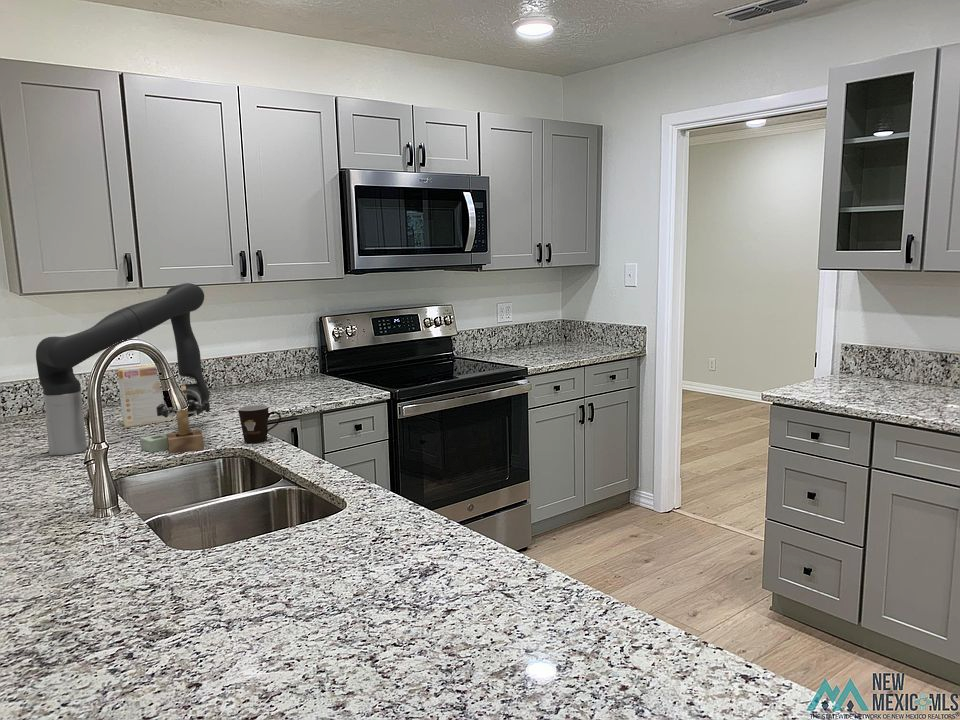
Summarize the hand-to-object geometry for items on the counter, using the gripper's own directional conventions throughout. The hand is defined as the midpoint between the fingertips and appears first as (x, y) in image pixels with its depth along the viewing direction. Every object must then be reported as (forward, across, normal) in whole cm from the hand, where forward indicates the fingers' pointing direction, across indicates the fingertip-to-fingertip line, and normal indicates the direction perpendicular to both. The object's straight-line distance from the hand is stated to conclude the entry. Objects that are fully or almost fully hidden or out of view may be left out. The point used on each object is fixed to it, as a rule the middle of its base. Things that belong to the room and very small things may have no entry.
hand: (181, 412), depth 202 cm
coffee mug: (-1, +20, +11) cm, 23 cm away
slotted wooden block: (-2, 0, +11) cm, 11 cm away
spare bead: (-6, -8, +11) cm, 14 cm away
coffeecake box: (-48, -16, +11) cm, 52 cm away
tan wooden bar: (-2, 0, +11) cm, 11 cm away
